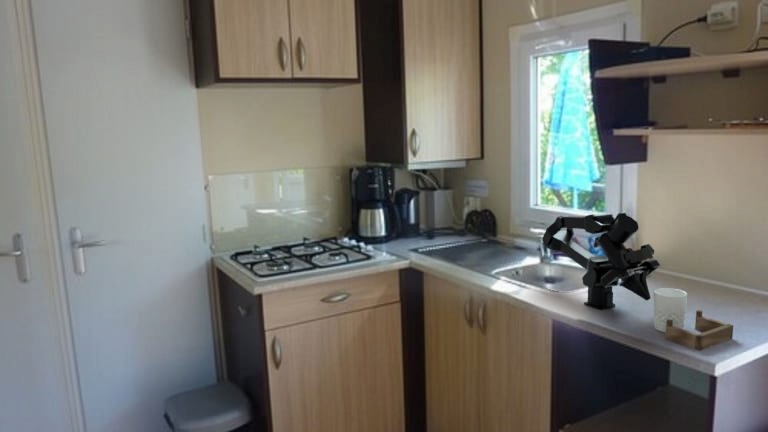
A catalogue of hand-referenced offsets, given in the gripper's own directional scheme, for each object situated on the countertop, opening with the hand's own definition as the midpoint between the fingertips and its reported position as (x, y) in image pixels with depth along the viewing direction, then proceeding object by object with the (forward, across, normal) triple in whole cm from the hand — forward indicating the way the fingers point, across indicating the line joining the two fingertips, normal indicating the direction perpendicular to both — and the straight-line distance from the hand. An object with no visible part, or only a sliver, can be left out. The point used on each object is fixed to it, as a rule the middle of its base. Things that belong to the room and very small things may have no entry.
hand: (648, 299), depth 159 cm
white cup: (+9, 0, 0) cm, 9 cm away
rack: (+15, 0, -6) cm, 16 cm away
